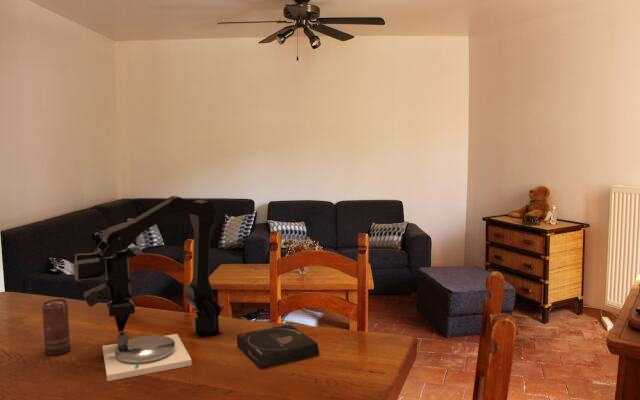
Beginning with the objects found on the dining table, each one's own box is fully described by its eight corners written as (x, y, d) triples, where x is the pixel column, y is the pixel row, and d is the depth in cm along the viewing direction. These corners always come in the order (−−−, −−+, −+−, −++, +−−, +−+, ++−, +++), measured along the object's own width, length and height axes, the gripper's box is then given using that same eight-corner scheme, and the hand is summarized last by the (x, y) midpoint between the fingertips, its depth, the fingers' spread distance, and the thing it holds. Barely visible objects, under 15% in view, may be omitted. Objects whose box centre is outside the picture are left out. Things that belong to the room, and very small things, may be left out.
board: (177, 338, 150) (177, 333, 150) (191, 365, 132) (191, 359, 132) (102, 351, 141) (102, 345, 141) (107, 381, 123) (106, 374, 123)
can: (60, 357, 137) (57, 306, 136) (40, 355, 139) (36, 304, 137) (76, 348, 143) (73, 299, 142) (55, 346, 145) (52, 297, 143)
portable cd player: (319, 356, 138) (319, 342, 137) (259, 370, 129) (259, 355, 129) (292, 336, 152) (292, 323, 152) (237, 348, 144) (236, 334, 143)
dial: (169, 337, 146) (169, 317, 146) (179, 356, 133) (178, 335, 132) (105, 347, 139) (103, 327, 138) (108, 369, 125) (107, 347, 125)
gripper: (83, 270, 142) (87, 324, 144) (85, 287, 126) (89, 348, 128) (126, 265, 147) (129, 318, 149) (133, 281, 131) (136, 341, 132)
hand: (120, 331), depth 139 cm, fingers closed
